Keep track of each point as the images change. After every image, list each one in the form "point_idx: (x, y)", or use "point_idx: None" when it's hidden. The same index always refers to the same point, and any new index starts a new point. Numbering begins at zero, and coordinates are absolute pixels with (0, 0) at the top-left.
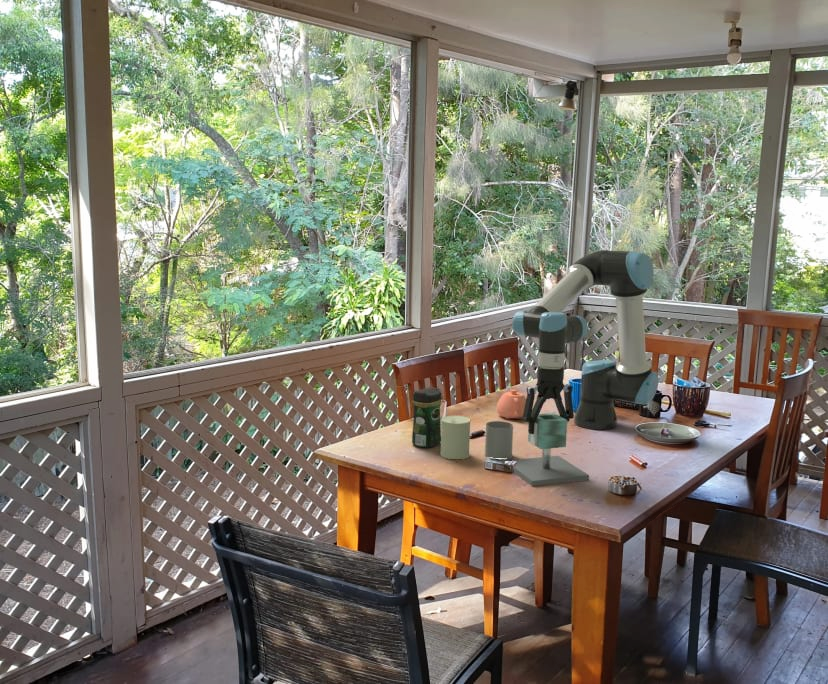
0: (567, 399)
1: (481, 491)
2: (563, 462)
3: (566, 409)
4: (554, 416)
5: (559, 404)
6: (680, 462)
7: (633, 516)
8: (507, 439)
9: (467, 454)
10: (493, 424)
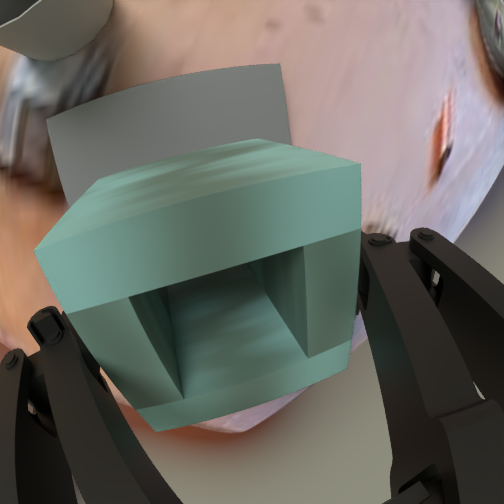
0: (493, 385)
1: (10, 336)
2: (271, 139)
3: (444, 283)
4: (307, 302)
5: (392, 425)
6: (481, 160)
7: (286, 402)
8: (51, 28)
9: None
10: None
